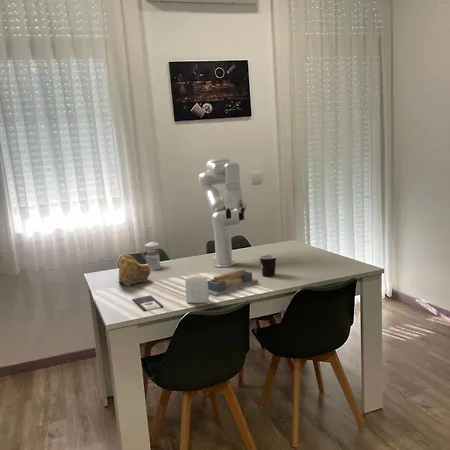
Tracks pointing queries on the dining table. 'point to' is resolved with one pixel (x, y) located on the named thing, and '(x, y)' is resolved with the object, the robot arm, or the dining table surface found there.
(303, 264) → the dining table surface
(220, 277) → the slat
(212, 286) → the endcap board
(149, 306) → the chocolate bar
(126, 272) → the rough brown rock
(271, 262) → the coffee mug
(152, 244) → the french press
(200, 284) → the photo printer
